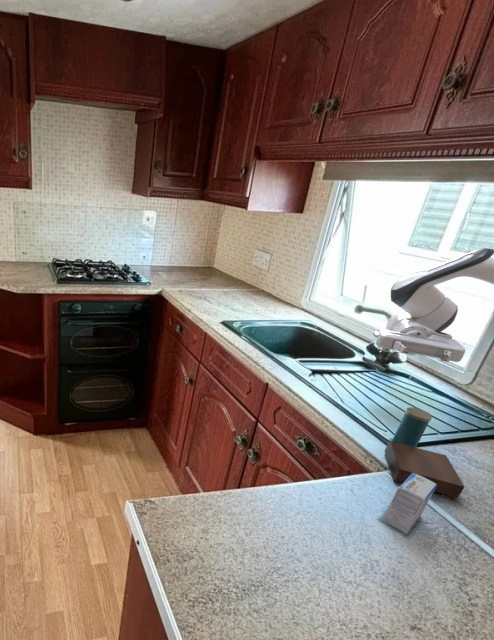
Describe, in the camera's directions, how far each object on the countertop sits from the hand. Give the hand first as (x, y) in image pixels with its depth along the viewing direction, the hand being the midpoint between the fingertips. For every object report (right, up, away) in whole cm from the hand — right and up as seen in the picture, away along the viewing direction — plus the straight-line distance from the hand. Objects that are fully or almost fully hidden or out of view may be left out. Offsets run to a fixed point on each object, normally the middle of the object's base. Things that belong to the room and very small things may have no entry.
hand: (425, 354), depth 105 cm
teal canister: (-6, -24, -1) cm, 24 cm away
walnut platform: (-11, -29, -12) cm, 33 cm away
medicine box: (-24, -34, -25) cm, 49 cm away
